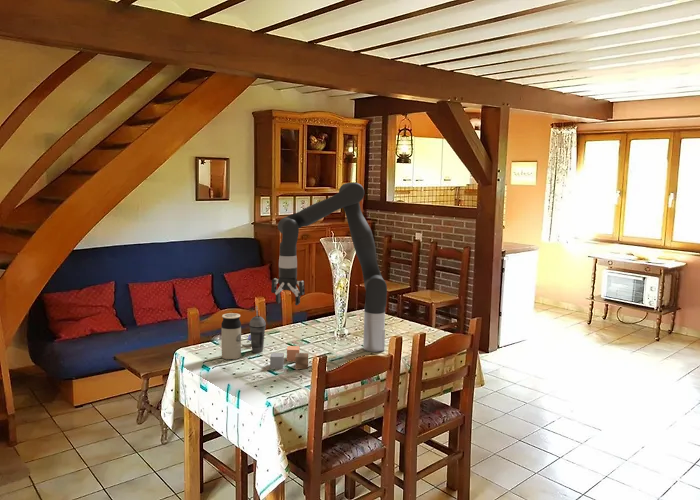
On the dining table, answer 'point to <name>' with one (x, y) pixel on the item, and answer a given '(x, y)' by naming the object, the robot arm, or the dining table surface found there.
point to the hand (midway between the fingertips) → (287, 304)
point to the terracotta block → (292, 352)
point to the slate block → (276, 360)
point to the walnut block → (301, 361)
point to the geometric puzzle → (249, 337)
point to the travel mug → (231, 336)
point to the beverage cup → (257, 333)
